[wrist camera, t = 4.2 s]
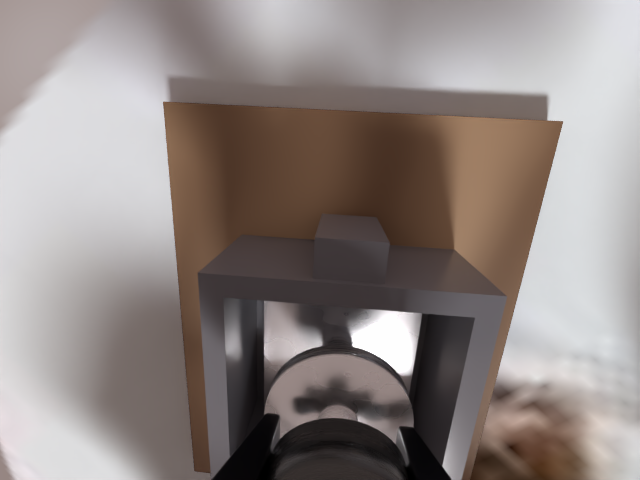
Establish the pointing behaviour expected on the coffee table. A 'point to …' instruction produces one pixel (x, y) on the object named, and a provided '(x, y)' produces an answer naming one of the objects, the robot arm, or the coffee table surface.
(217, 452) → the press
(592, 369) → the coffee table surface
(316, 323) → the plunger
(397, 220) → the board
